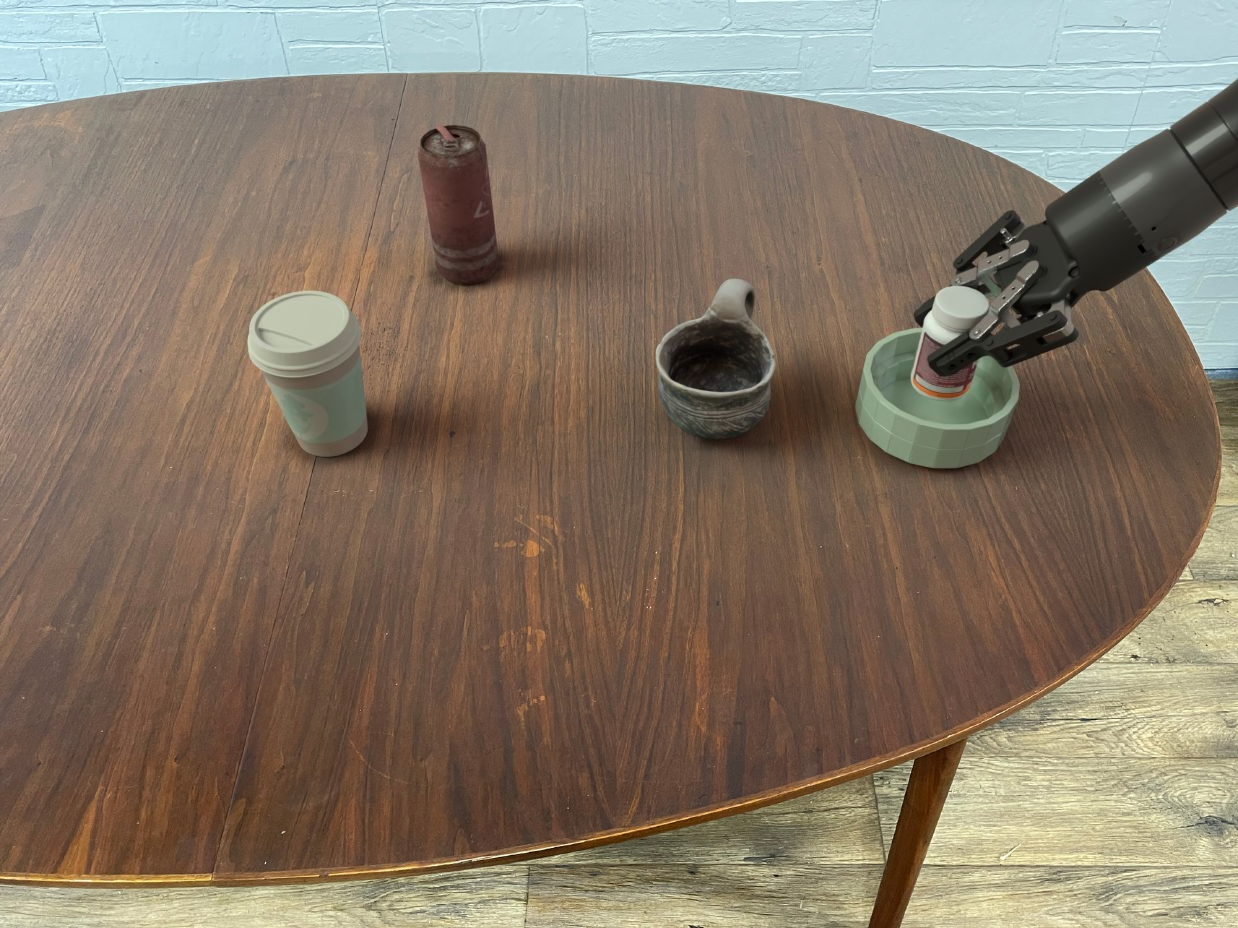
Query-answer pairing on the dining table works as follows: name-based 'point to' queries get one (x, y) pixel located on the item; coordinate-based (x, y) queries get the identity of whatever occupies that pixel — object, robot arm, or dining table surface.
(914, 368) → the pill bottle
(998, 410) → the bowl
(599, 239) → the dining table surface
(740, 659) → the dining table surface
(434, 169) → the can
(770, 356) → the mug
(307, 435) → the coffee cup
